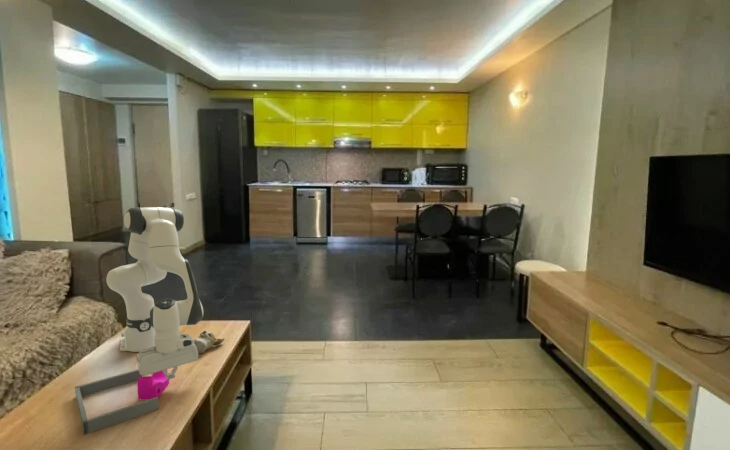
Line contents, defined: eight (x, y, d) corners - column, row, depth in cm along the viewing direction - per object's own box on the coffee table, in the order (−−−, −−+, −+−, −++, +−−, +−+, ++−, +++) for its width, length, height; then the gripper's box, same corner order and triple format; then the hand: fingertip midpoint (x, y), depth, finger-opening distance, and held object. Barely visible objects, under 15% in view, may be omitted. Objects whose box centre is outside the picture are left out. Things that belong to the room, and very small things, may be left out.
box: (75, 397, 146) (74, 386, 146) (141, 377, 160) (141, 368, 159) (84, 434, 126) (83, 422, 126) (158, 409, 140) (158, 398, 139)
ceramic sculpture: (184, 334, 179) (206, 324, 194) (184, 353, 180) (206, 341, 194) (204, 338, 176) (225, 327, 191) (204, 357, 177) (225, 345, 191)
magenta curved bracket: (156, 399, 145) (155, 380, 144) (138, 400, 145) (137, 380, 144) (174, 377, 160) (173, 360, 159) (158, 378, 160) (156, 360, 159)
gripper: (138, 354, 142) (141, 391, 144) (198, 338, 155) (200, 372, 157) (134, 348, 146) (137, 384, 149) (193, 333, 160) (195, 366, 162)
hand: (170, 378), depth 153 cm, fingers closed
